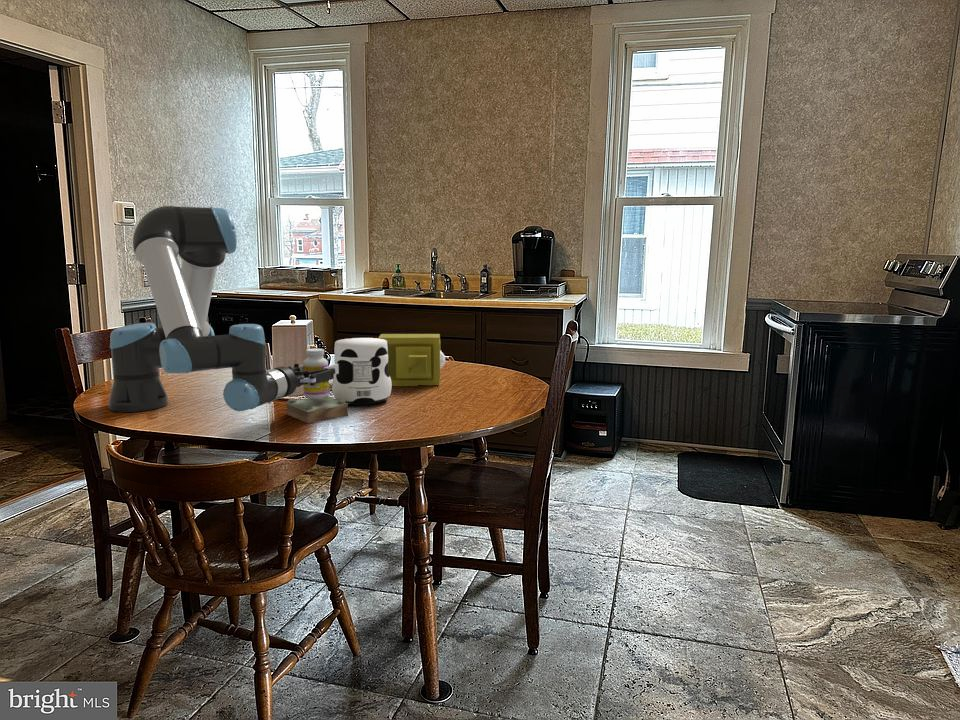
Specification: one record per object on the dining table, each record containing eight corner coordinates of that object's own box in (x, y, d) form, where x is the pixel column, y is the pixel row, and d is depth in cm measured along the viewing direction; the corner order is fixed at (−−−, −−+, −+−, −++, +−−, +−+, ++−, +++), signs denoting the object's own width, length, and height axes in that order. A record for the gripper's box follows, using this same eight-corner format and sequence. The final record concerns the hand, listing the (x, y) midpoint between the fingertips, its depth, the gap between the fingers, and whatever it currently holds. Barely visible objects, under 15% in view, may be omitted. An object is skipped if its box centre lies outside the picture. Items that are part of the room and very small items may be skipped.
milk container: (365, 392, 214) (363, 335, 211) (404, 400, 203) (403, 341, 200) (320, 402, 201) (318, 341, 197) (359, 411, 190) (357, 348, 187)
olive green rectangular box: (445, 333, 230) (444, 340, 214) (445, 380, 233) (444, 390, 217) (341, 333, 229) (333, 340, 213) (342, 380, 232) (334, 390, 216)
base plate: (307, 423, 177) (307, 407, 177) (287, 414, 186) (286, 399, 185) (347, 415, 185) (347, 401, 184) (326, 407, 194) (325, 393, 193)
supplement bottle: (325, 399, 181) (324, 351, 179) (301, 399, 181) (299, 351, 179) (331, 393, 188) (330, 347, 186) (307, 393, 188) (306, 347, 186)
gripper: (243, 395, 170) (295, 378, 192) (311, 401, 164) (357, 383, 186) (241, 366, 169) (294, 352, 191) (309, 371, 163) (356, 356, 184)
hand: (325, 367), depth 188 cm, fingers closed on supplement bottle, 7 cm apart
